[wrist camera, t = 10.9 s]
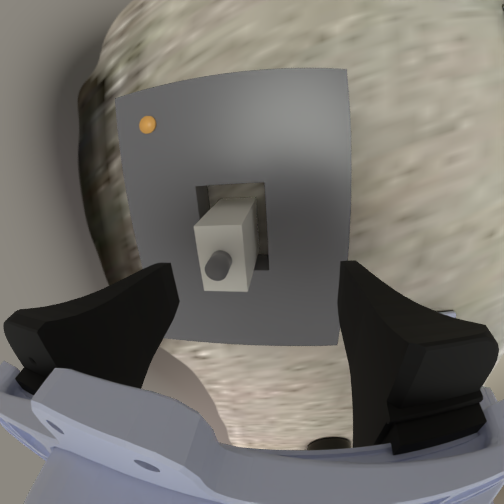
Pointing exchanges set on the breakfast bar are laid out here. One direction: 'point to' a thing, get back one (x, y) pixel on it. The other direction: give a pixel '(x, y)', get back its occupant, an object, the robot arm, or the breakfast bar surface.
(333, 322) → the socket block
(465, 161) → the breakfast bar surface
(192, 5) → the breakfast bar surface
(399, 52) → the breakfast bar surface
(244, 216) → the plug
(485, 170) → the breakfast bar surface
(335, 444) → the supplement bottle
